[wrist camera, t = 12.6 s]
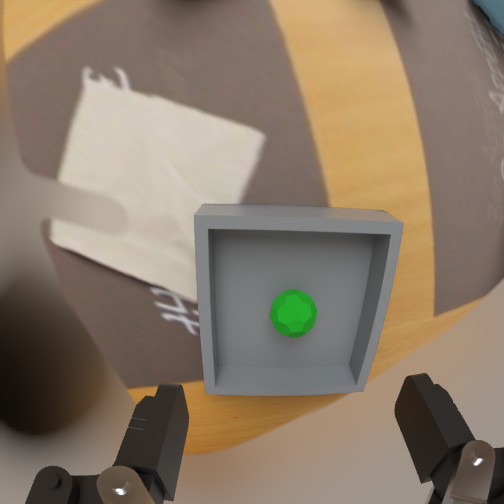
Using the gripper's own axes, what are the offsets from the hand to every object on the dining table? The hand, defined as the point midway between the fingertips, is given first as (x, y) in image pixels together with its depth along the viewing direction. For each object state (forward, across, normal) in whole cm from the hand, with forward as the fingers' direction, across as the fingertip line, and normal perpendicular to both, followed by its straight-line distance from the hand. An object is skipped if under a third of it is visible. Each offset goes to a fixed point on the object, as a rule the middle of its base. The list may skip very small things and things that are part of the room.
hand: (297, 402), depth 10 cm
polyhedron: (+23, -2, +9) cm, 25 cm away
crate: (+24, -2, +9) cm, 25 cm away
